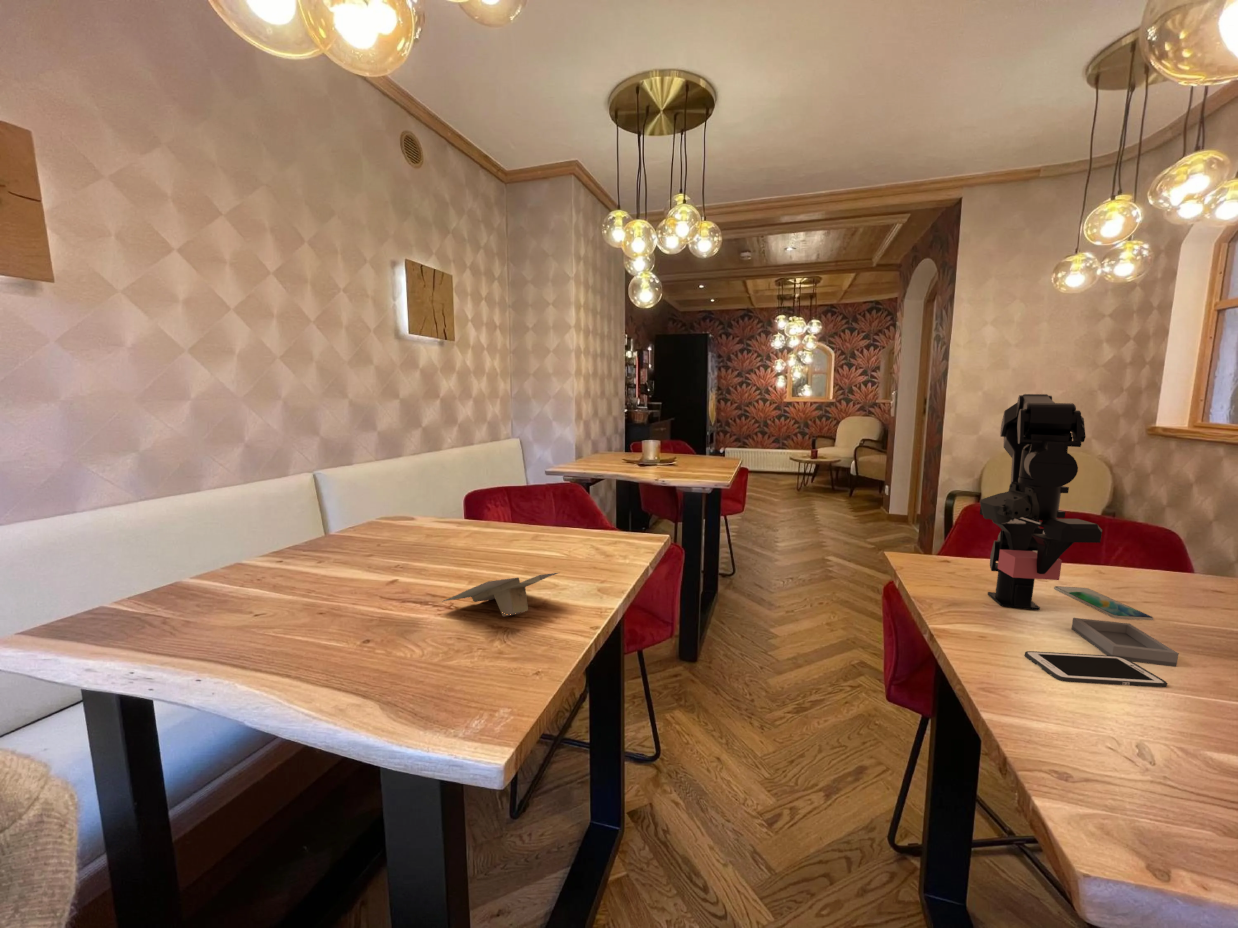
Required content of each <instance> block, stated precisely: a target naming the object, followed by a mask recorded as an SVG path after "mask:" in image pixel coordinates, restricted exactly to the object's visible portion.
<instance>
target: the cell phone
mask: <svg viewBox="0 0 1238 928" xmlns="http://www.w3.org/2000/svg"><path fill="white" fill-rule="evenodd" d="M1024 657H1025V658H1026V659H1027V660H1029V661H1030V662H1032V664H1034V665H1037V666H1039V667H1040V668H1041V670H1042V671H1043V672H1045V673H1046V674H1048V676H1050V677H1051V678H1053V679H1055V680H1057V681H1060V682H1064V683H1065V682H1066V683H1068V682H1069V683H1080V684H1095V685H1096V684H1099V685H1114V686H1132V687H1145V688H1147V687H1148V688H1167V687H1168V683H1167V681H1165V680H1164V679H1162V678H1161V677H1159V676H1158V675H1156V674H1155V673H1152V672H1151V671H1149V670H1147V669H1145V668H1144V667H1142V666H1140V665H1139V664H1136V663H1135V662H1134V661H1130V660H1128V659H1126V658H1124V657H1120V656H1108V655H1106V654H1091V653H1090V654H1089V653H1088V654H1087V653H1073V652H1072V653H1069V652H1054V651H1053V652H1051V651H1034V650H1031V651H1030V650H1029V651H1028V650H1026V651H1025V652H1024Z"/></svg>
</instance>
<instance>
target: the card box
mask: <svg viewBox="0 0 1238 928" xmlns="http://www.w3.org/2000/svg"><path fill="white" fill-rule="evenodd" d="M1062 562H1063V560H1062V559H1061V558H1060V557H1059V558H1058V559H1057V560H1056V562H1055V563H1054V564H1053V565H1052V566H1051V567H1050V569H1049V570H1048V571H1047V572H1046V573H1045V574H1039V573H1037V551H1021V550H1002V549H1000V553H999V561H997V563H998V569H999V570H1001V571H1003V572H1004V573H1006V574H1008V575H1010V576H1011V577H1013V578H1030V579H1035V580H1049V581H1060V578H1061V577H1060V576H1061V569H1062Z"/></svg>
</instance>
